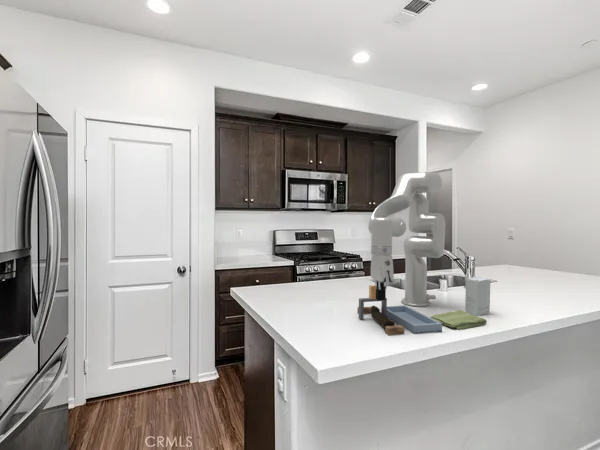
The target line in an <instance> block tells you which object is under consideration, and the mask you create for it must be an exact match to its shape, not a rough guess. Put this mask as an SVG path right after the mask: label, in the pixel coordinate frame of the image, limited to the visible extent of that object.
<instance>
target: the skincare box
mask: <svg viewBox="0 0 600 450" xmlns="http://www.w3.org/2000/svg"><path fill="white" fill-rule="evenodd" d="M464 301H465V307H464V312H467V313H469V314H471V315H475V316H478V317H480V316H482V315H483V316H484V315H487V314H490V310H491V308H490V306H491V305H490V303H491V279H490V278H487V277H481V276H475V277H474V276H473V277H470V278H469V277H468V278H465V300H464Z"/></svg>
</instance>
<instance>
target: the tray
mask: <svg viewBox="0 0 600 450" xmlns="http://www.w3.org/2000/svg"><path fill="white" fill-rule="evenodd" d="M381 308H382V306H380V309H381ZM387 317H388V319H389V320H392V321H393V322H394V323H396V324H398V325H402V326H403V327H404V330H407V331H409V332H410V333H412V334H413V335H417V334H418V335H419V334H427V333H442V332H443V325H442V323H440V322H438V321H436V320H434V319H432V318H430V317H431V316H427V315H425V314H423V313H421V312H419V311H417V310H416V309H413V308H411V307H410V306H408V305H406V304H403V305H389V306H388V305H387Z"/></svg>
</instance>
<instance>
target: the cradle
mask: <svg viewBox="0 0 600 450" xmlns="http://www.w3.org/2000/svg"><path fill="white" fill-rule="evenodd" d="M357 314H358V315H359V306H358V307H357ZM364 315H371V306H364ZM384 332H385V334H386V335H387V336H394V335H405V328H404V327H403V326H402V325H399V324H398V325H396V324H395V326H385V330H384Z"/></svg>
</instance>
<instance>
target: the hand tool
mask: <svg viewBox="0 0 600 450" xmlns="http://www.w3.org/2000/svg"><path fill="white" fill-rule="evenodd" d="M370 307H371V314H370V316H371V318H372V319H373V320H376V322H377V323H379V325H381V326H382V327H383V330H384V331H385V326H396V324H395V323H396V322H394V321H393V320H391V319H389V318H388V317H386V316H384V315H383V314H382V313H381V308H379V307H377V306H375V305H372V306H370Z"/></svg>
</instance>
